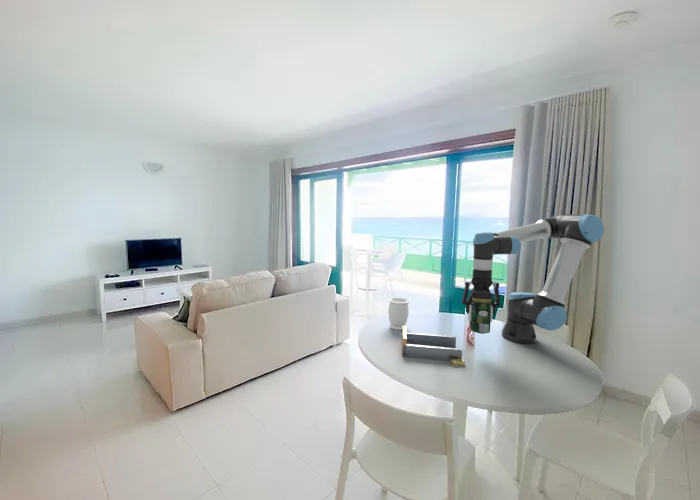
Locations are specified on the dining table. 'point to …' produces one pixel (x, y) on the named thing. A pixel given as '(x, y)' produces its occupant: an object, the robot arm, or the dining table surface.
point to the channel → (429, 346)
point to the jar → (398, 313)
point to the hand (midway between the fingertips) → (479, 320)
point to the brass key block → (457, 362)
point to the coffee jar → (481, 311)
